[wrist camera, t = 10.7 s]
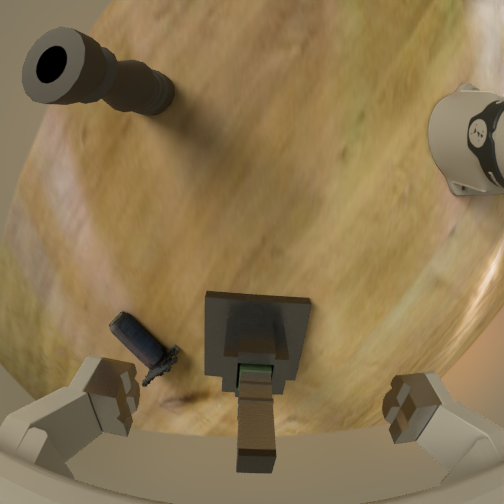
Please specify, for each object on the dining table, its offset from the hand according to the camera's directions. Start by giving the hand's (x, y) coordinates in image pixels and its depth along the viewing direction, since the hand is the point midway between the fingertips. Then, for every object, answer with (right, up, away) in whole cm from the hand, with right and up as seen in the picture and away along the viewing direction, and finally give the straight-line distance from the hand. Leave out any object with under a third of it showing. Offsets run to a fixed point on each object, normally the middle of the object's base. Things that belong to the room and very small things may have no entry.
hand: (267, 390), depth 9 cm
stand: (0, -10, +44) cm, 45 cm away
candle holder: (-14, +26, +30) cm, 42 cm away
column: (0, -13, +36) cm, 38 cm away
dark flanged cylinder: (-19, -10, +44) cm, 49 cm away
